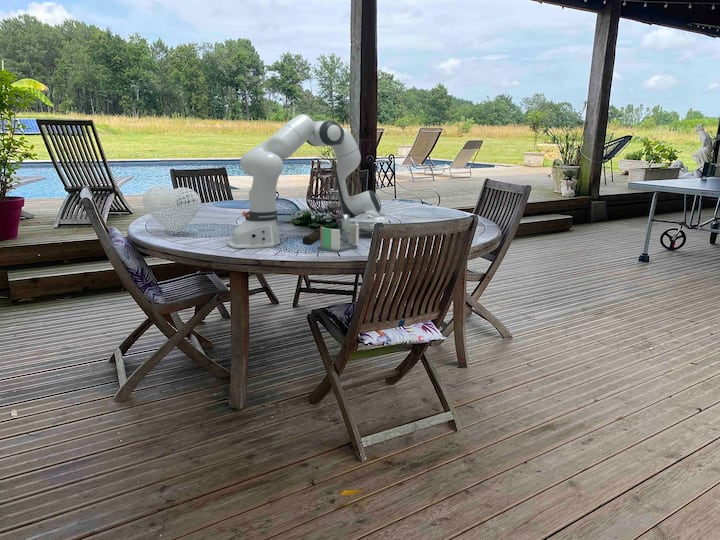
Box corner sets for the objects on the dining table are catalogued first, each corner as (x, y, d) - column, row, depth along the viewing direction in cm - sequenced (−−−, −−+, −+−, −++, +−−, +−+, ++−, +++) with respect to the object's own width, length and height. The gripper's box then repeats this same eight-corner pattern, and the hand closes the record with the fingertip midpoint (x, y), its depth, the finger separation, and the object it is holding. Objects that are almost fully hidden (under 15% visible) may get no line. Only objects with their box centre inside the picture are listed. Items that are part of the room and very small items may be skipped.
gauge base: (340, 243, 222) (340, 222, 219) (360, 246, 215) (360, 225, 213) (317, 248, 210) (316, 227, 208) (336, 252, 204) (336, 230, 201)
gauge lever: (346, 240, 217) (346, 214, 214) (360, 244, 211) (360, 216, 208) (318, 245, 208) (318, 217, 205) (332, 249, 201) (332, 220, 198)
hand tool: (310, 245, 218) (310, 235, 216) (302, 245, 219) (302, 234, 217) (326, 237, 235) (326, 227, 234) (318, 237, 236) (318, 227, 235)
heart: (209, 234, 238) (206, 186, 232) (185, 240, 224) (181, 189, 218) (164, 229, 249) (160, 183, 243) (139, 234, 235) (134, 186, 229)
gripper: (348, 214, 240) (341, 218, 227) (391, 215, 236) (386, 220, 223) (348, 227, 241) (341, 232, 228) (390, 229, 238) (386, 234, 224)
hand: (364, 226), depth 225 cm, fingers open, 5 cm apart
